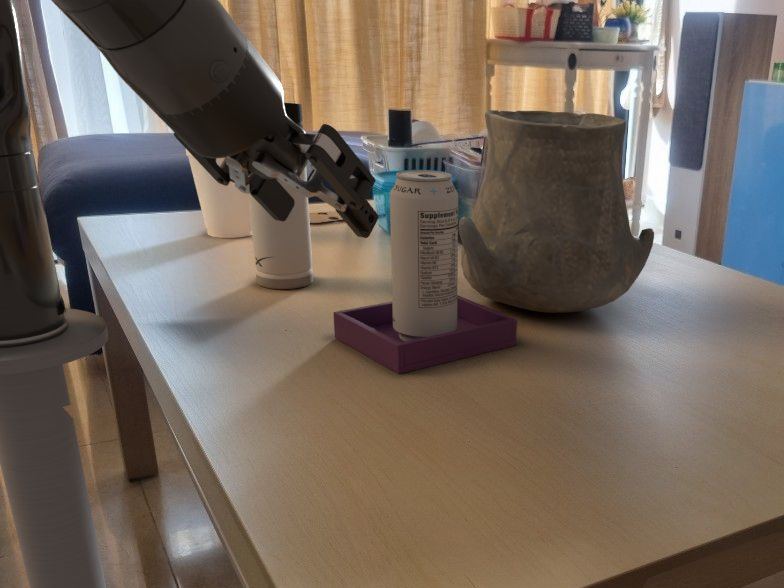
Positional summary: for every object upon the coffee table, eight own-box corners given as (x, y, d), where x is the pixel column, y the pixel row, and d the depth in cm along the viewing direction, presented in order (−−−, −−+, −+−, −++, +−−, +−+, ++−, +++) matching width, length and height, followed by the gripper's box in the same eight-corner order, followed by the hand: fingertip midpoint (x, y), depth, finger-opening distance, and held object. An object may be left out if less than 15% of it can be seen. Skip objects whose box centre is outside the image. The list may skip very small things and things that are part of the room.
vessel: (604, 272, 107) (617, 107, 99) (669, 327, 87) (692, 127, 79) (434, 275, 102) (434, 101, 94) (463, 334, 82) (466, 121, 74)
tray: (398, 374, 72) (398, 345, 71) (334, 338, 79) (333, 311, 78) (516, 345, 80) (517, 319, 79) (448, 315, 88) (448, 291, 86)
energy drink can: (432, 322, 83) (431, 167, 77) (470, 338, 79) (472, 176, 73) (380, 333, 79) (375, 171, 73) (417, 351, 75) (415, 181, 69)
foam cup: (279, 235, 117) (271, 138, 112) (216, 243, 111) (205, 141, 106) (244, 223, 123) (236, 130, 118) (183, 230, 117) (171, 133, 112)
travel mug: (253, 291, 92) (235, 98, 84) (259, 275, 98) (243, 93, 90) (312, 290, 93) (300, 100, 85) (314, 274, 99) (303, 96, 91)
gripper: (305, 24, 50) (420, 194, 64) (145, 14, 56) (282, 171, 70) (245, 122, 48) (377, 275, 62) (85, 100, 54) (239, 244, 68)
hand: (326, 219), depth 66 cm, fingers open, 8 cm apart
